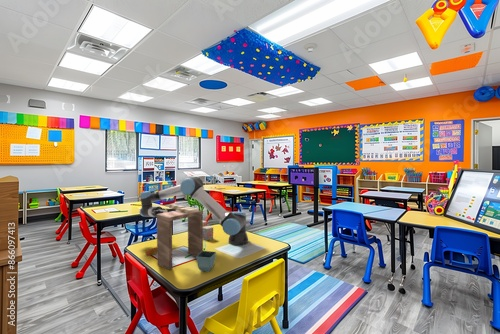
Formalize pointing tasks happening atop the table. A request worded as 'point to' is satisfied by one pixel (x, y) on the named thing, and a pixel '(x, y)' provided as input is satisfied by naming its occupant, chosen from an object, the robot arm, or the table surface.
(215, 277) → the table surface
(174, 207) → the salad server
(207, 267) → the flower pot
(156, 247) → the kendama
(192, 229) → the shelf
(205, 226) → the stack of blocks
